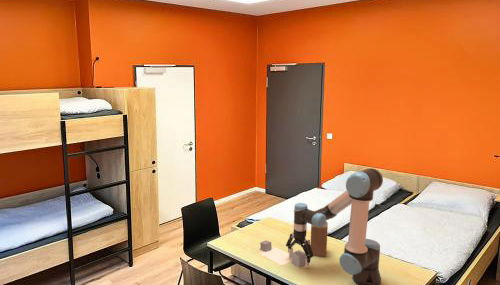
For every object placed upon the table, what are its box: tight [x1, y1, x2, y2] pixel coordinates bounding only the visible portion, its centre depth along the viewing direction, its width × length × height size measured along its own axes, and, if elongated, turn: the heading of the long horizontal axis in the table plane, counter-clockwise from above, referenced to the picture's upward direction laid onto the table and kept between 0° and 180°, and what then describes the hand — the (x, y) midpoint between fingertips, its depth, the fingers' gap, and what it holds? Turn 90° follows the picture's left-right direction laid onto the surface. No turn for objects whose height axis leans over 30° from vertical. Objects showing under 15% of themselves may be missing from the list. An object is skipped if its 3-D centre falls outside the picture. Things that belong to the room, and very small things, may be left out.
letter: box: [258, 246, 292, 266], centre depth 239 cm, size 20×14×1 cm
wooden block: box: [310, 221, 329, 258], centre depth 242 cm, size 10×10×20 cm
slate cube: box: [291, 249, 307, 268], centre depth 229 cm, size 6×6×7 cm
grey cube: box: [259, 240, 273, 252], centre depth 247 cm, size 5×5×5 cm
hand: (298, 262), depth 230 cm, fingers open, 13 cm apart
